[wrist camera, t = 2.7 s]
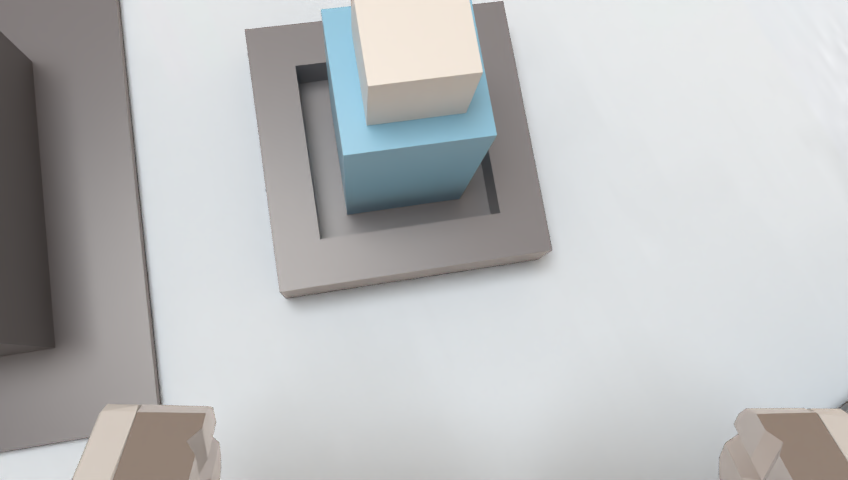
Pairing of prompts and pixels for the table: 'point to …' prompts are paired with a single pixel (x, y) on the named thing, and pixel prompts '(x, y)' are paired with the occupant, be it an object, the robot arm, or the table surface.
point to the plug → (406, 100)
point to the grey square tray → (397, 227)
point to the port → (68, 225)
